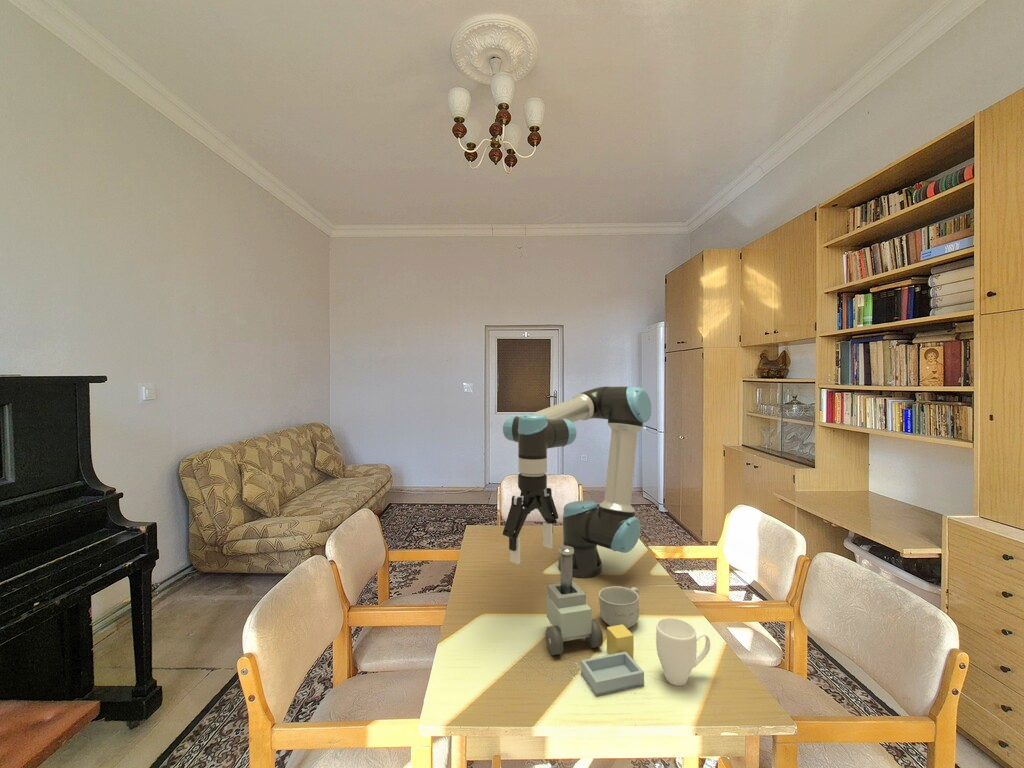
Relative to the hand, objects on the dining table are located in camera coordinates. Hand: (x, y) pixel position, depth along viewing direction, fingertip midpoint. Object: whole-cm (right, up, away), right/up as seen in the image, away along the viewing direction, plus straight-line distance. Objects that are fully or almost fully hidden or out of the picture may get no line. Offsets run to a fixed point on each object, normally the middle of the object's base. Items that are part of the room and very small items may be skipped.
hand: (532, 554), depth 113 cm
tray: (+17, -21, -18) cm, 32 cm away
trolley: (+9, -21, -4) cm, 23 cm away
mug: (+33, -21, -17) cm, 43 cm away
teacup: (+25, -21, +5) cm, 33 cm away
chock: (+21, -21, -10) cm, 31 cm away
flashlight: (+9, -11, -2) cm, 14 cm away
